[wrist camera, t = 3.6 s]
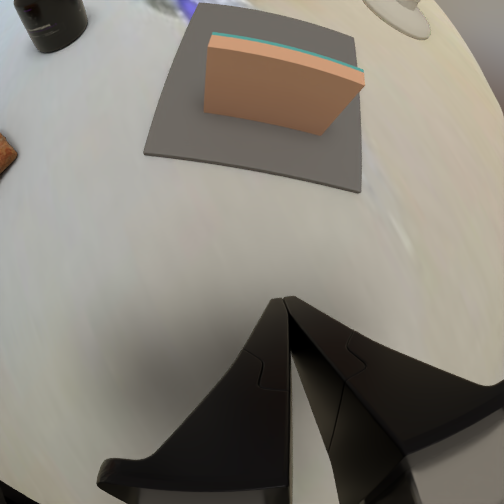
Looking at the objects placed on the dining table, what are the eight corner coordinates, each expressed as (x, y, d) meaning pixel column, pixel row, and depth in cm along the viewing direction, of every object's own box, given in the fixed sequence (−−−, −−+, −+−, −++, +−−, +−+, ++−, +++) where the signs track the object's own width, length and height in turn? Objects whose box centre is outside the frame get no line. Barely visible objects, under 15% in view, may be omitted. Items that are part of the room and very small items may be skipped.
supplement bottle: (40, 64, 20) (-1, -7, 8) (35, 36, 20) (3, -27, 8) (94, 32, 21) (71, -48, 10) (84, 8, 21) (64, -60, 10)
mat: (358, 193, 24) (361, 192, 24) (144, 154, 21) (143, 152, 21) (352, 40, 26) (353, 37, 26) (198, 5, 24) (199, 2, 23)
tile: (320, 136, 23) (365, 85, 16) (203, 112, 22) (207, 46, 14) (321, 121, 24) (363, 69, 16) (207, 98, 22) (212, 32, 14)
